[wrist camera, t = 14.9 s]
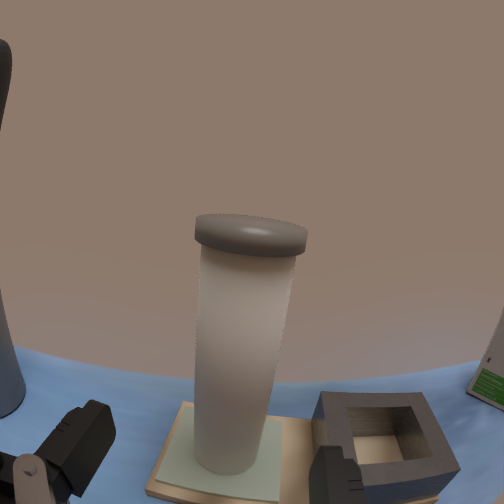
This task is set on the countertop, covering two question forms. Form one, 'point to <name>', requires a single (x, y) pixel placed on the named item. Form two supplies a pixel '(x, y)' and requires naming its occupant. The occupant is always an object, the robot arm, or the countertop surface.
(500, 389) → the skincare box
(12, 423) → the countertop surface
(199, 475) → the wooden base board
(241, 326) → the plug
